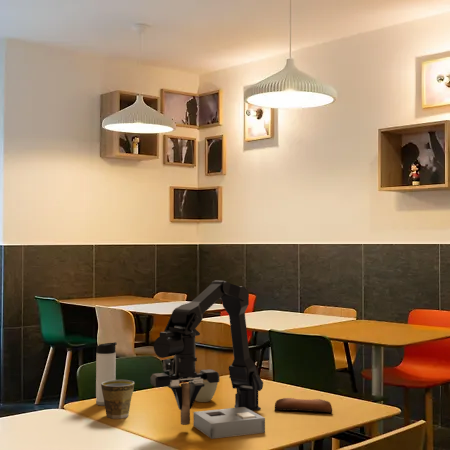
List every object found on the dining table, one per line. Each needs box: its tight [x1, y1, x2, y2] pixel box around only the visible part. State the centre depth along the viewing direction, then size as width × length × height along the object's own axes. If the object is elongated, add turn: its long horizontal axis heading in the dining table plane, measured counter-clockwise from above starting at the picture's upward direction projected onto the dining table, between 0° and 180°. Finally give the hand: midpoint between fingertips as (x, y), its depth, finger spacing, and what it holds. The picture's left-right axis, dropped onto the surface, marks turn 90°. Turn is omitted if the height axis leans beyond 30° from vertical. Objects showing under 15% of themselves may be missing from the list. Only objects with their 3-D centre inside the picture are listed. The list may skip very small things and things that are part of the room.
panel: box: [192, 407, 266, 440], centre depth 191 cm, size 16×14×4 cm
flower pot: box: [187, 380, 219, 403], centre depth 226 cm, size 10×10×7 cm
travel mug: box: [95, 341, 117, 407], centre depth 222 cm, size 6×7×20 cm
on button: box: [237, 412, 255, 419], centre depth 189 cm, size 4×5×2 cm
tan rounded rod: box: [180, 382, 191, 426], centre depth 189 cm, size 3×3×11 cm
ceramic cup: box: [101, 379, 135, 420], centre depth 206 cm, size 13×10×10 cm
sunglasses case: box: [274, 397, 334, 415], centre depth 213 cm, size 18×7×7 cm, turn 77°
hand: (185, 409), depth 189 cm, fingers closed on tan rounded rod, 3 cm apart
